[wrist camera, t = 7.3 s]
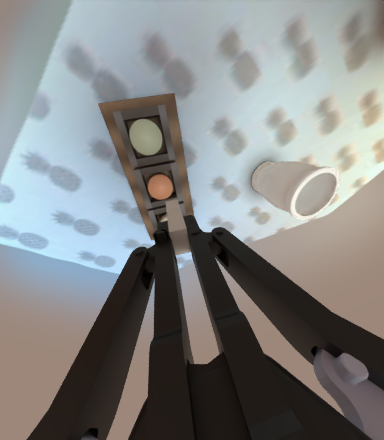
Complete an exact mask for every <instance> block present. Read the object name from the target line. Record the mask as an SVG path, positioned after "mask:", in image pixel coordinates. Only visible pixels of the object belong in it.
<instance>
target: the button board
mask: <svg viewBox="0 0 384 440" xmlns="http://www.w3.org/2000/svg"><path fill="white" fill-rule="evenodd" d="M98 105H99V107H100V110H101V112H102V115H103V118H104V120H105V123H106V125H107V128H108V130H109V133H110V136H111V138H112V141H113V143H114V146H115V148H116V151H117V154H118V156H119V159H120V161H121V164H122V166H123V169H124V172H125V174H126V177H127V179H128V182H129V184H130V187H131V190H132V192H133V195H134V197H135V200H136V202H137V205H138V208H139V210H140V213H141V215H142V218H143V220H144V223H145V226H146V228H147V231H148V233H149V236H150V238H151V240H154V238H153V233H154V232H155V231H156V230H157V225H158V224H159V222H160V219H161V217H162V216H163V215H165V214H167V212H166V203H165V202H166V201H170V200H175V199H177V200H178V203H179V206H180V209H181V212H182V215H183V216H187V215H193V216H194V214H193V207H192V201H191V195H190V188H189V182H188V176H187V169H186V163H185V157H184V151H183V144H182V138H181V132H180V125H179V119H178V113H177V107H176V100H175V94H174V93H172V94H164V95H157V96H150V97H142V98H135V99H128V100H120V101H113V102H106V103H98ZM140 119H147V120H150V121H152V122H153V123H155V124H156V125H157V126H158V128H159V130H160V132H161V134H162V145H161V148H160V150H159V151H158V152H157V153H155V154H153V155H144V154H141V153H139V152H138V151H137V150H136V149H135V148H134V147H133V145H132V143H131V141H130V136H129V133H130V128H131V126H132V124H133V123H134V122H135V121H137V120H140ZM155 173H164V174H166V175H167V176H168V177H169V178H170V180H171V182H172V185H173V191H172V193H171V195H170V196H169V197H168V198H166V199H162V200H159V199H156V198H154V197H152V196H151V194H150V193H149V191H148V183H149V179H150V177H151V176H152V175H153V174H155Z"/></svg>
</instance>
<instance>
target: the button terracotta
mask: <svg viewBox="0 0 384 440" xmlns="http://www.w3.org/2000/svg"><path fill="white" fill-rule="evenodd" d="M148 191H149V193H150V194H151V196H152V197H154V198H156V199H159V200H162V199H166V198H168V197H169V196H170V195H171V193H172V191H173V185H172V182H171V180H170V178H169V177H168V176H167V175H166V174H164V173H155V174H153V175H152V176H151V177H150V179H149V183H148Z"/></svg>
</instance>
